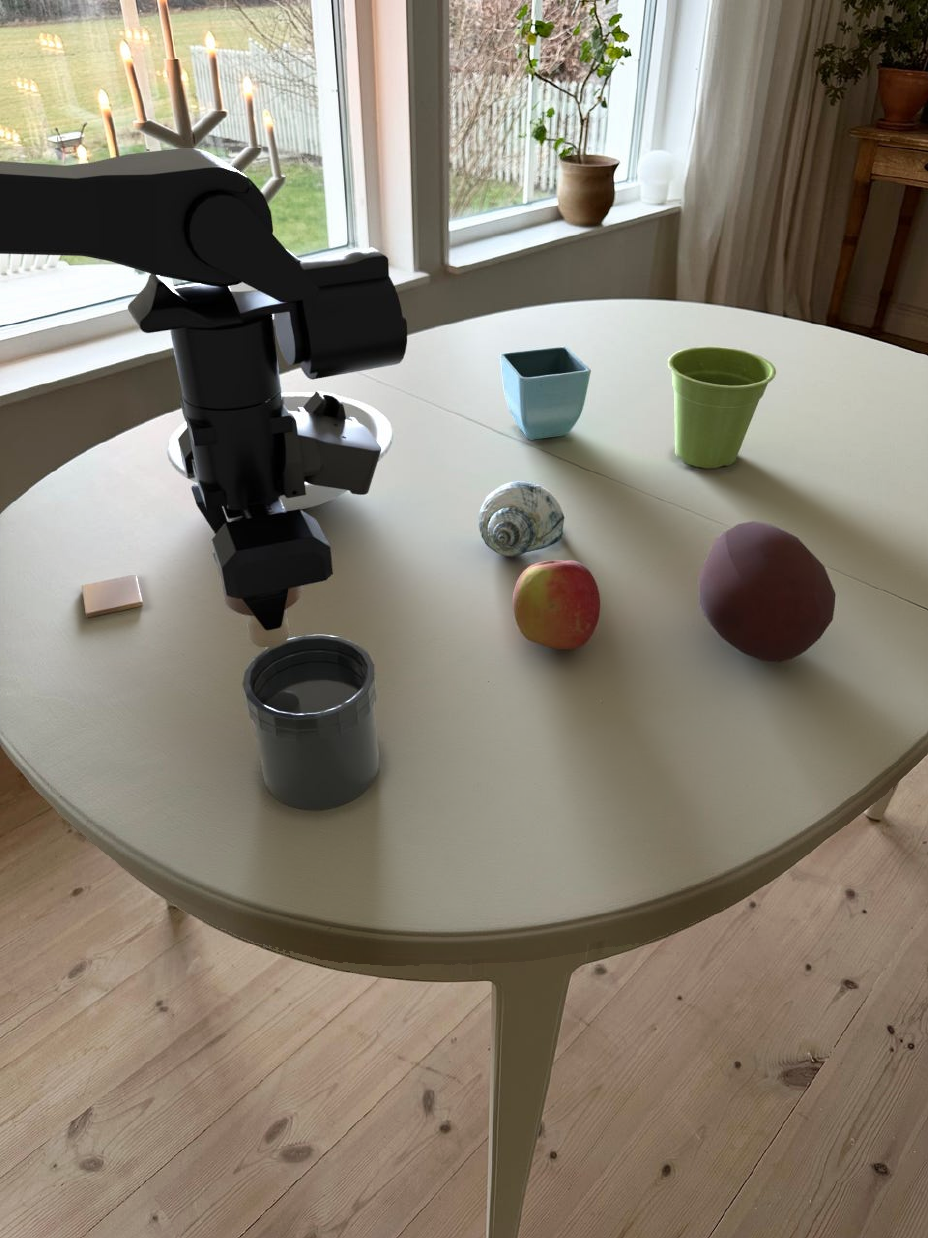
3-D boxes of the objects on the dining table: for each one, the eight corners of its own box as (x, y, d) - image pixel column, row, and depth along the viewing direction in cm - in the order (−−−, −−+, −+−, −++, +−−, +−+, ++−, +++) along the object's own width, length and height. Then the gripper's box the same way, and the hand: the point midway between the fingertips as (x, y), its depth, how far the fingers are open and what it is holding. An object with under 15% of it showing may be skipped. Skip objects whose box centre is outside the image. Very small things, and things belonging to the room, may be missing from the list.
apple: (608, 625, 83) (617, 550, 78) (581, 679, 77) (588, 601, 72) (529, 606, 85) (533, 531, 81) (496, 656, 79) (498, 579, 75)
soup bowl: (299, 572, 90) (292, 513, 86) (131, 506, 100) (117, 451, 97) (437, 474, 106) (435, 421, 102) (279, 427, 117) (273, 376, 113)
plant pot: (666, 480, 105) (679, 386, 98) (647, 435, 115) (659, 346, 108) (769, 479, 105) (790, 385, 98) (742, 434, 115) (759, 345, 108)
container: (276, 827, 64) (258, 733, 59) (249, 743, 71) (231, 652, 66) (398, 790, 67) (392, 697, 62) (361, 713, 74) (352, 623, 68)
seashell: (573, 544, 97) (488, 585, 90) (530, 494, 99) (444, 531, 93) (597, 505, 92) (509, 546, 85) (551, 453, 94) (462, 489, 88)
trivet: (86, 618, 84) (85, 613, 84) (82, 589, 88) (81, 584, 87) (143, 605, 86) (142, 601, 85) (136, 578, 89) (135, 573, 89)
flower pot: (497, 420, 118) (498, 352, 113) (562, 412, 120) (566, 345, 115) (518, 450, 111) (520, 378, 106) (586, 441, 113) (592, 370, 108)
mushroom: (239, 666, 62) (227, 598, 59) (226, 623, 66) (214, 557, 63) (314, 648, 64) (307, 581, 61) (297, 608, 68) (288, 543, 65)
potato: (712, 695, 75) (734, 591, 69) (672, 602, 86) (687, 504, 80) (844, 689, 76) (878, 585, 70) (788, 597, 86) (813, 499, 80)
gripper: (413, 433, 50) (419, 658, 59) (324, 324, 64) (341, 520, 73) (204, 467, 46) (246, 700, 56) (158, 345, 60) (198, 548, 70)
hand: (264, 606), depth 64 cm, fingers closed on mushroom, 5 cm apart
